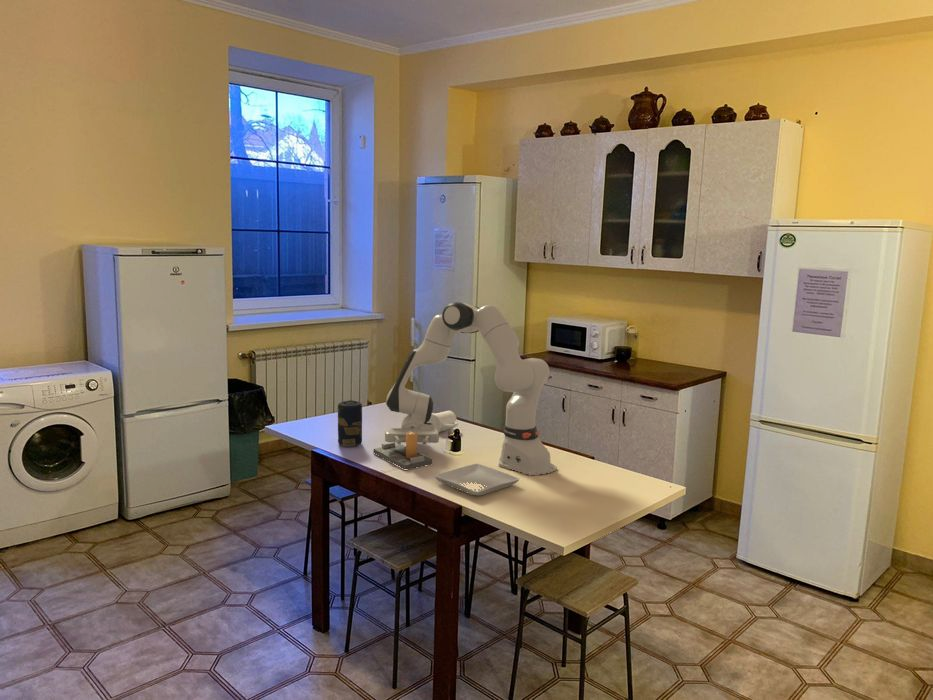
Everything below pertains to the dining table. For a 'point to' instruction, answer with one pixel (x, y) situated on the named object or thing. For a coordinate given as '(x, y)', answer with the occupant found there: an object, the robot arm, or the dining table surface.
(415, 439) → the fader knob
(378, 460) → the dining table surface
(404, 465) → the console
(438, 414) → the mug
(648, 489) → the dining table surface
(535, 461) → the robot arm
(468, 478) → the salad plate
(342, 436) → the canister
